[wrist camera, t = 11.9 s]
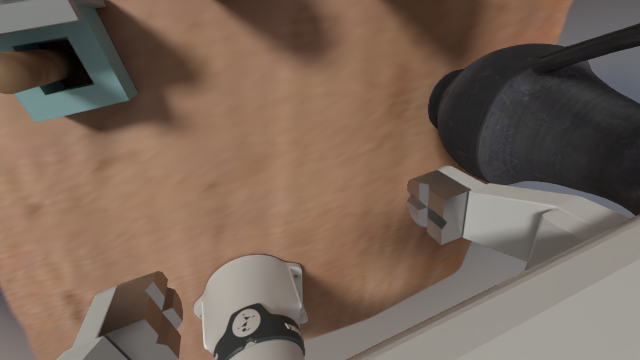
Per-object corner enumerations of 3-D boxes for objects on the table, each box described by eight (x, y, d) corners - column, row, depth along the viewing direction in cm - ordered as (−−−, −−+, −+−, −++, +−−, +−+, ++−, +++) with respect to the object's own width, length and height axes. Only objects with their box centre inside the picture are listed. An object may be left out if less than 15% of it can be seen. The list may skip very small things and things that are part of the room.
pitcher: (422, 168, 49) (641, 304, 24) (382, 61, 38) (717, 111, 13) (499, 113, 50) (792, 191, 25) (483, -9, 38) (996, -94, 13)
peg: (88, 73, 28) (36, 89, 20) (59, 79, 27) (-7, 97, 19) (72, 45, 27) (9, 49, 18) (42, 50, 26) (-38, 57, 18)
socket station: (147, 91, 30) (127, 109, 23) (44, 115, 28) (-15, 143, 21) (100, -6, 26) (55, -23, 18) (-27, 14, 24) (-137, 4, 16)
